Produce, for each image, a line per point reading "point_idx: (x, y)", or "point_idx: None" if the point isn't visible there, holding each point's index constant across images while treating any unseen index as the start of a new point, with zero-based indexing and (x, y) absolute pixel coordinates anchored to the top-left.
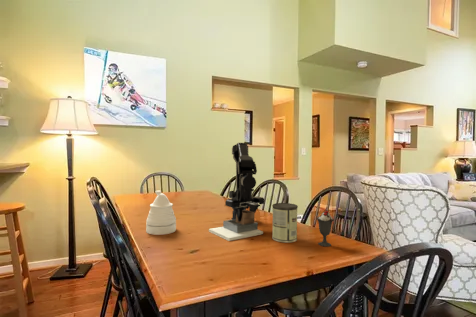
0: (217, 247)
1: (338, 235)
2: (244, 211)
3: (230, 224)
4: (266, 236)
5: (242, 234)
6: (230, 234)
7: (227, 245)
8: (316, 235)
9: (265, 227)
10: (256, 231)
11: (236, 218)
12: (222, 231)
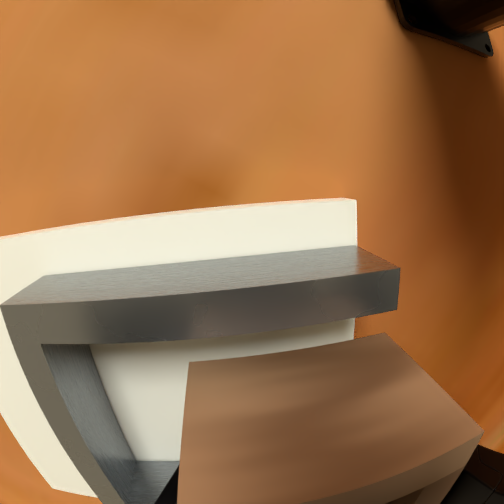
0: (9, 484)
1: None
2: (384, 492)
3: (67, 440)
4: None
5: None
6: (68, 462)
7: (47, 497)
8: None
9: (466, 340)
10: None
11: (186, 411)
12: (19, 385)
